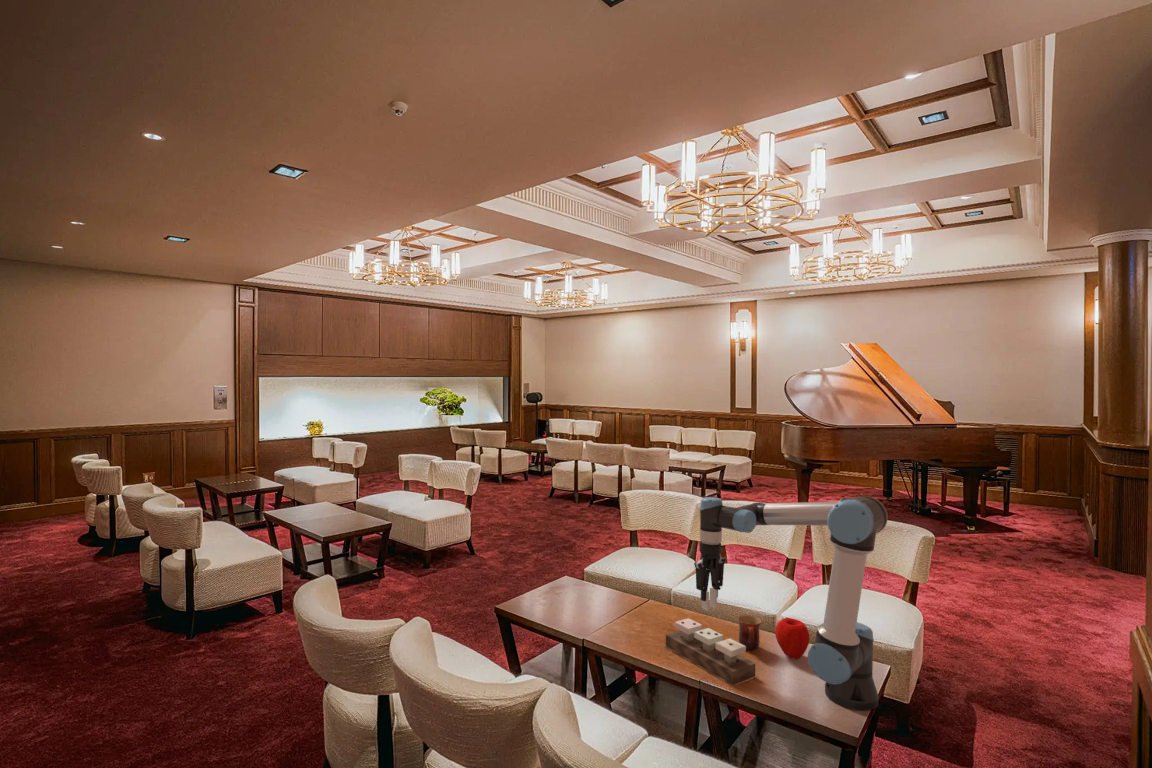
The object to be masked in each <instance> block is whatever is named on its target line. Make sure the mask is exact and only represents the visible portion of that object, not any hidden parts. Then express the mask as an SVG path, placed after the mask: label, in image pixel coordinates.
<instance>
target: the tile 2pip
mask: <svg viewBox="0 0 1152 768" xmlns="http://www.w3.org/2000/svg"><path fill="white" fill-rule="evenodd" d="M674 628H675V629H677V630H678V631H683V639H685V640H686V641H691V640H694V632H696V631H699V630H703V624H701V623H699V622H697V621H695V620H693V619H692V618H689V617H688V618H684V619H680V620H677V621H674Z"/></svg>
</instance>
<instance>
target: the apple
mask: <svg viewBox="0 0 1152 768" xmlns="http://www.w3.org/2000/svg"><path fill="white" fill-rule="evenodd" d="M774 636H775V639H776V642H777V643H778V645H779V647H780V649H781V651H782V652H783V654H784V655H785V656H786V657H787V658H789V659H791V660H798V659H799V660H800V658H802V657H803V656H804V654H805V653H806V651H807V649H808V647H809V646H810V645H809V644H810V633H809V629H808V627H807V625H806V624H805V623H804V622H803V621H801V620H800V619H795V618H792V617H785V618H782V619H781V620H779V621H778V622H777V623H776V627H775V631H774Z"/></svg>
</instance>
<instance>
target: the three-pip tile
mask: <svg viewBox="0 0 1152 768" xmlns="http://www.w3.org/2000/svg"><path fill="white" fill-rule="evenodd" d="M694 638H696V639H698V640H700V641H702V642H703V650H705V651H707V652H712V651H714V644H715V643H717V642H720V641H723V640H724V634H722V633H720V632H717V631H715V630H713V629H711V628H709V627H707V628H702V630H699V631H696V632H694Z"/></svg>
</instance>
